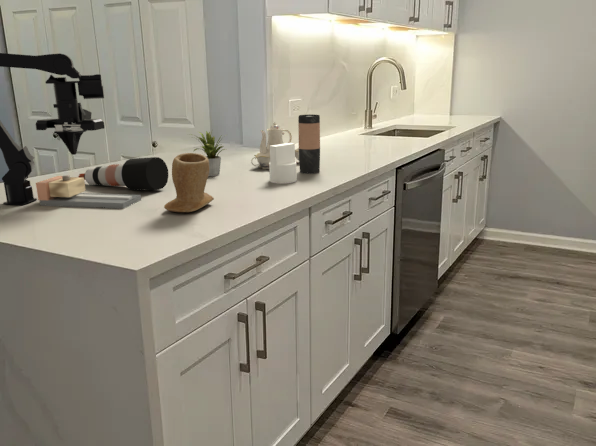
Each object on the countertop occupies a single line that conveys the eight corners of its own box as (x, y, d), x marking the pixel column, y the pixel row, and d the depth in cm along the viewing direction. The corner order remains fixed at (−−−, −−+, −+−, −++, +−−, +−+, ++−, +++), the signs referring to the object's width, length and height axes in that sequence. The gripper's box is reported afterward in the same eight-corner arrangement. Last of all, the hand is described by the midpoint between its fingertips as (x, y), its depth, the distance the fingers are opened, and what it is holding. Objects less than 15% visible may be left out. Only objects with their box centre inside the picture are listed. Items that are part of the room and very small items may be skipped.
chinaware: (264, 176, 197) (266, 130, 191) (237, 166, 208) (238, 122, 202) (320, 166, 215) (322, 124, 209) (292, 157, 226) (294, 117, 220)
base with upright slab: (283, 176, 187) (283, 142, 183) (302, 180, 181) (301, 144, 177) (264, 180, 181) (262, 145, 177) (282, 184, 175) (281, 147, 171)
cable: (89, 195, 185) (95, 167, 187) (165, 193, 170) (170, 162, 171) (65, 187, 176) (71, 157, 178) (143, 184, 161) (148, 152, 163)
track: (39, 205, 154) (35, 182, 152) (60, 197, 163) (57, 175, 161) (123, 208, 148) (121, 185, 147) (141, 199, 158) (138, 177, 156)
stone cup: (198, 217, 139) (194, 159, 134) (158, 214, 142) (153, 157, 138) (225, 203, 152) (222, 150, 148) (188, 200, 156) (184, 148, 152)
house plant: (180, 175, 193) (177, 128, 188) (211, 169, 203) (208, 125, 198) (205, 180, 184) (202, 131, 179) (236, 173, 193) (234, 127, 189)
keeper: (50, 196, 153) (47, 178, 152) (67, 190, 161) (65, 173, 159) (69, 197, 152) (66, 179, 151) (85, 190, 160) (83, 173, 158)
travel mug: (324, 171, 195) (324, 115, 189) (310, 174, 189) (309, 116, 184) (308, 169, 200) (308, 114, 194) (294, 172, 194) (293, 115, 189)
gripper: (111, 97, 159) (117, 150, 164) (55, 98, 163) (62, 149, 168) (90, 100, 149) (97, 156, 153) (30, 100, 153) (38, 155, 157)
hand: (73, 154), depth 158 cm, fingers closed
